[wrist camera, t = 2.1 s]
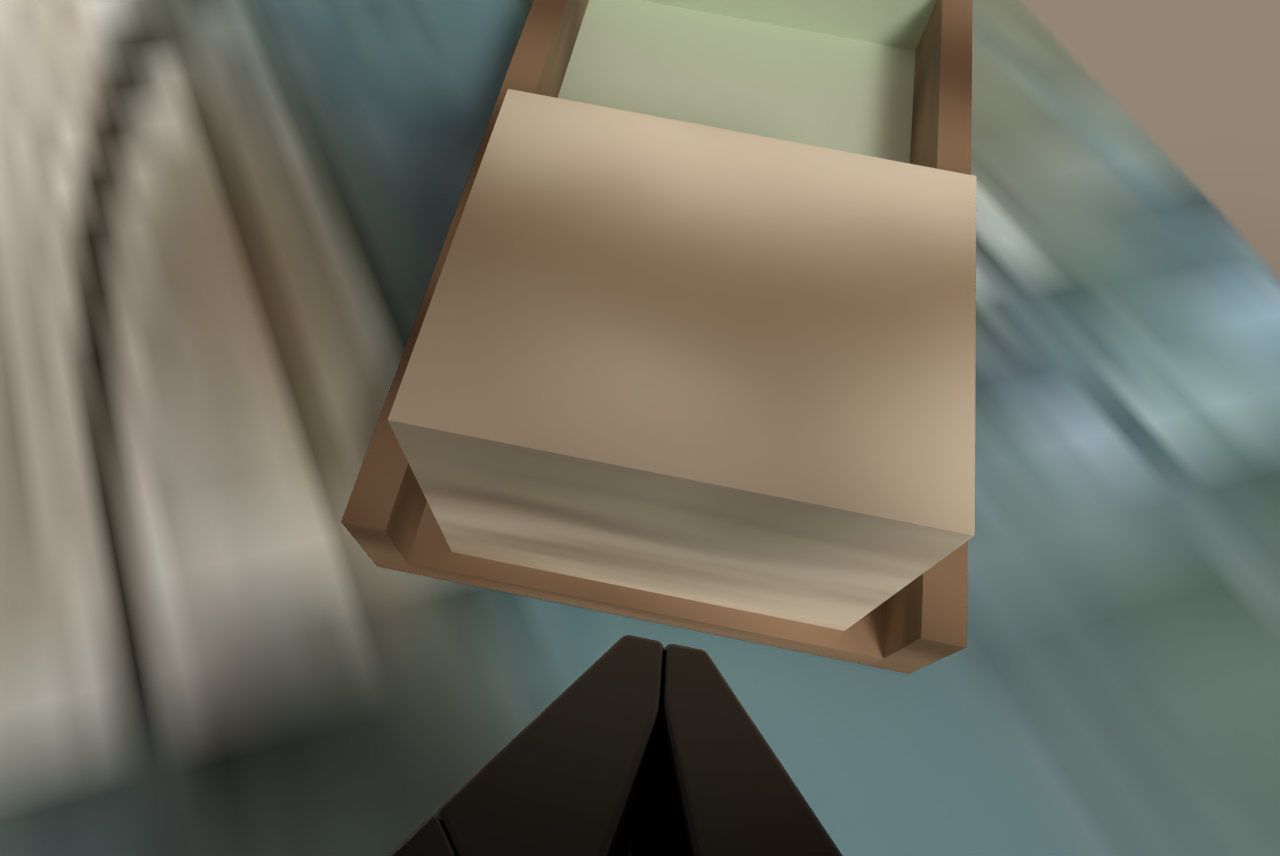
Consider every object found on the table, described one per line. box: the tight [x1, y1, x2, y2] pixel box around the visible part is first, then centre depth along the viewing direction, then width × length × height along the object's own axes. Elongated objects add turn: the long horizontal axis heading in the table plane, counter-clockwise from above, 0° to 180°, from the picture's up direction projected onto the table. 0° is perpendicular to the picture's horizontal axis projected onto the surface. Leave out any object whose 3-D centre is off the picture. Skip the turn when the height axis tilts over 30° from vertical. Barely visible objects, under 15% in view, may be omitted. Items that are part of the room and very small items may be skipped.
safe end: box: [558, 0, 937, 164], centre depth 28 cm, size 10×14×4 cm
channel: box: [341, 0, 972, 673], centre depth 25 cm, size 23×14×4 cm, turn 169°
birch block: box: [388, 89, 976, 631], centre depth 19 cm, size 8×10×8 cm
